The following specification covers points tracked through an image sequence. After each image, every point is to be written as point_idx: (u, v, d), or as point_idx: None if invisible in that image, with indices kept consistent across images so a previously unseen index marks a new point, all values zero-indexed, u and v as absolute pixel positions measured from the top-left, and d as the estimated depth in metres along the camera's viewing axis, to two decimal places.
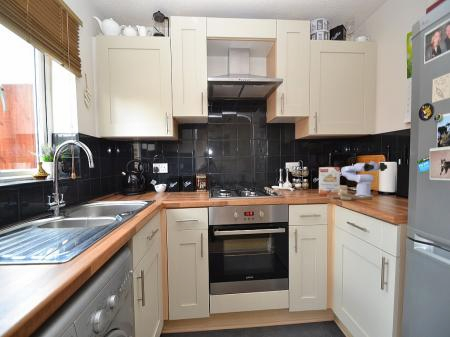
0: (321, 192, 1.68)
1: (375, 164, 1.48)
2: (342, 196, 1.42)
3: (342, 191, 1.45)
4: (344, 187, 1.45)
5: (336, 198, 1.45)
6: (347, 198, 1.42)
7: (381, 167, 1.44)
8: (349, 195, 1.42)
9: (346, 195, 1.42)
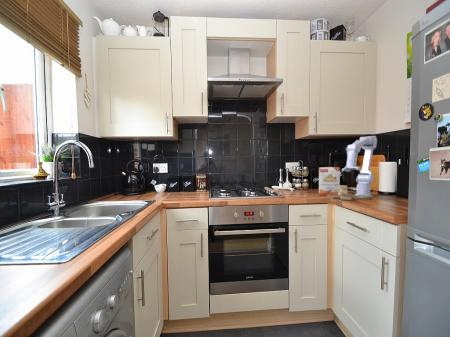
0: (321, 192, 1.68)
1: (350, 168, 1.43)
2: (342, 196, 1.42)
3: (342, 191, 1.45)
4: (344, 187, 1.45)
5: (336, 198, 1.45)
6: (347, 198, 1.42)
7: None
8: (349, 195, 1.42)
9: (346, 195, 1.42)
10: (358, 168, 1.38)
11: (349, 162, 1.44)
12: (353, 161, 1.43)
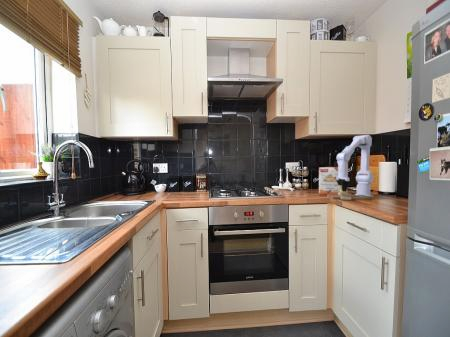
0: (321, 192, 1.68)
1: (341, 178, 1.46)
2: (342, 196, 1.42)
3: (342, 191, 1.45)
4: None
5: (336, 198, 1.45)
6: (347, 198, 1.42)
7: None
8: (349, 195, 1.42)
9: (346, 195, 1.42)
10: (347, 179, 1.40)
11: (339, 172, 1.46)
12: (343, 171, 1.44)
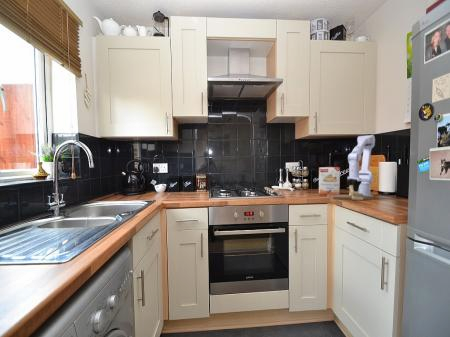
0: (321, 192, 1.68)
1: (352, 178, 1.45)
2: (354, 196, 1.42)
3: (353, 191, 1.45)
4: None
5: (336, 198, 1.45)
6: (359, 198, 1.41)
7: None
8: (361, 195, 1.41)
9: (358, 195, 1.41)
10: (359, 179, 1.39)
11: (351, 172, 1.45)
12: (354, 171, 1.44)
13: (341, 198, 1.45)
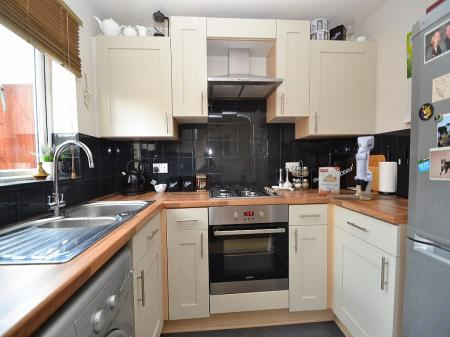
0: (321, 192, 1.68)
1: (360, 178, 1.44)
2: (361, 196, 1.41)
3: (361, 191, 1.44)
4: None
5: (336, 198, 1.45)
6: (366, 198, 1.41)
7: None
8: (368, 195, 1.41)
9: (365, 195, 1.41)
10: (367, 179, 1.39)
11: (358, 172, 1.45)
12: (362, 171, 1.43)
13: (341, 198, 1.45)
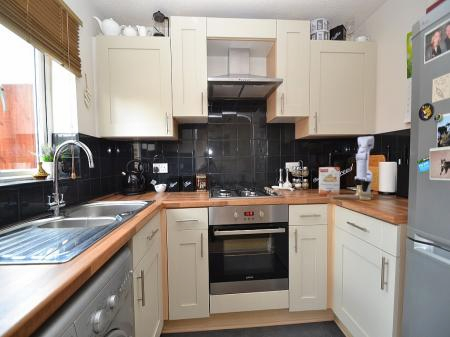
0: (321, 192, 1.68)
1: (360, 178, 1.44)
2: (361, 196, 1.41)
3: (361, 191, 1.44)
4: None
5: (336, 198, 1.45)
6: (366, 198, 1.41)
7: None
8: (368, 195, 1.41)
9: (365, 195, 1.41)
10: (367, 179, 1.39)
11: (358, 172, 1.45)
12: (362, 171, 1.43)
13: (341, 198, 1.45)
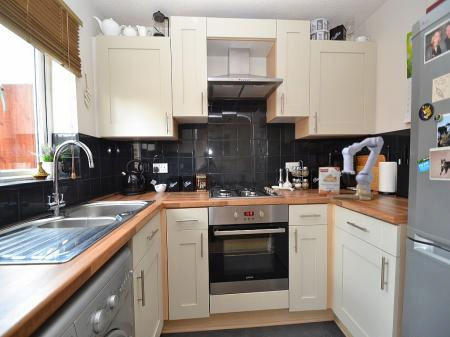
0: (321, 192, 1.68)
1: (346, 172, 1.53)
2: (361, 196, 1.41)
3: (361, 191, 1.44)
4: (363, 187, 1.44)
5: (336, 198, 1.45)
6: (366, 198, 1.41)
7: None
8: (368, 195, 1.41)
9: (365, 195, 1.41)
10: (352, 172, 1.47)
11: (345, 166, 1.53)
12: (348, 165, 1.51)
13: (341, 198, 1.45)
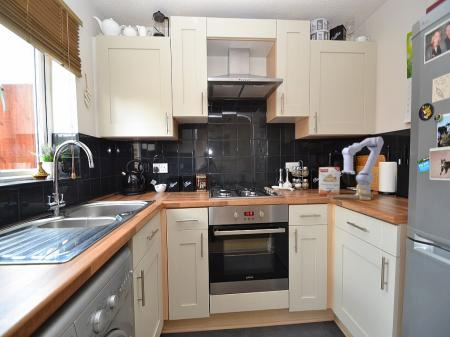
0: (321, 192, 1.68)
1: (346, 172, 1.53)
2: (361, 196, 1.41)
3: (361, 191, 1.44)
4: (363, 187, 1.44)
5: (336, 198, 1.45)
6: (366, 198, 1.41)
7: None
8: (368, 195, 1.41)
9: (365, 195, 1.41)
10: (352, 172, 1.47)
11: (345, 166, 1.53)
12: (348, 165, 1.51)
13: (341, 198, 1.45)
